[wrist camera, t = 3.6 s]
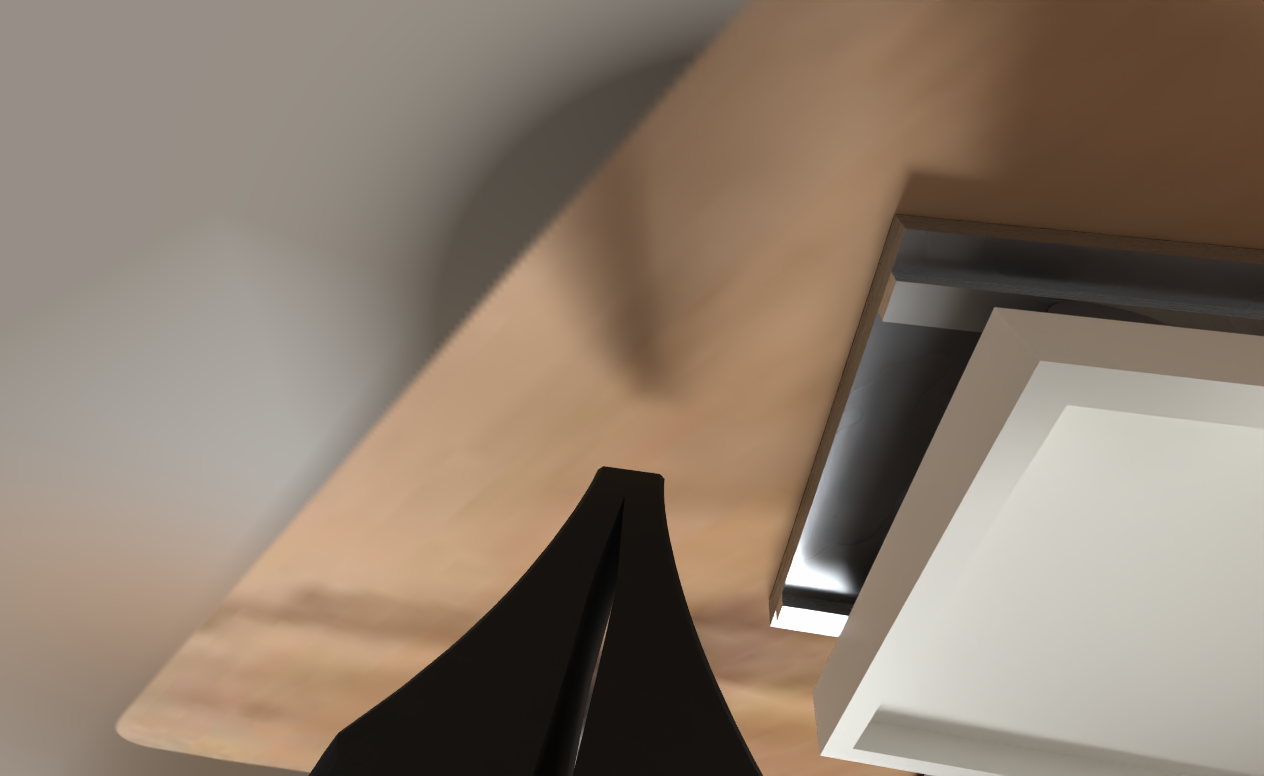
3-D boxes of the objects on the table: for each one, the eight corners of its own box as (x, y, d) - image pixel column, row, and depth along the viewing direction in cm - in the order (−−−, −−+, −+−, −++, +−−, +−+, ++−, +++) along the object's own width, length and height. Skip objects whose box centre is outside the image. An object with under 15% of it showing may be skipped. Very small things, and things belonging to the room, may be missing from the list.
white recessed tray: (1239, 716, 15) (1331, 846, 13) (807, 645, 16) (820, 755, 14) (1745, 353, 8) (2123, 485, 6) (964, 271, 9) (1039, 360, 7)
